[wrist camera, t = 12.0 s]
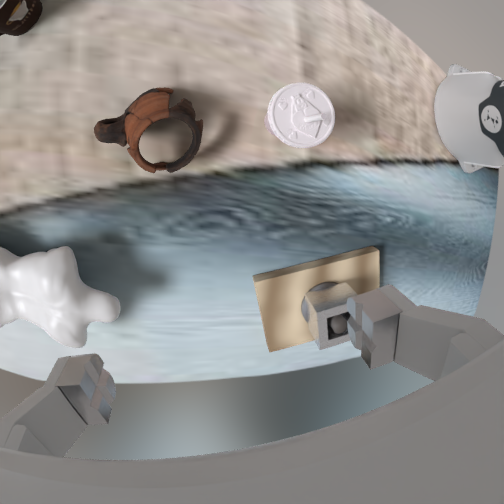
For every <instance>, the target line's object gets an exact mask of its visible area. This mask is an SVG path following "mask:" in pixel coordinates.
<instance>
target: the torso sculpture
mask: <svg viewBox="0 0 504 504" xmlns="http://www.w3.org/2000/svg"><path fill="white" fill-rule="evenodd" d="M120 310H121V307H120V302H119V300H118V298H117V297H115V296H113V295H111V294H109V293H106V292H103V291H100V290H96V289H93V288H91V287H89V286H87V285H86V284H84V283H83V282H82V280H81V279H80V276H79V273H78V266H77V261H76V258H75V255H74V253H73V251H72V249H71V248H70V247H67V246H62V247H59V248H54V249H51V250H49V251H48V252H36V253H31V254H28V255H25V256H23V257H19V256H16V255H14V254H13V253H11V252H10V251H8V250H7V249H5V248H2V247H0V328H1V327H2V326H4V325H5V324H8V323H11V322H13V321H15V320H17V319H24V320H27V321H29V322H31V323H33V324H35V325H37V326H39V327H40V328H42V329H43V330H45V331H46V332H47V333H48V334H49V335H50V336H51V337H52V338H53V339H54V340H55V341H57V342H58V343H60V344H62V345H64V346H67V347H71V348H82V347H83V346H84V345H85V344H86V341H87V327H88V325H89V324H90V323H91V322H105V323H109V322H113V321H115V320H116V319H117V318H118V317H119V314H120Z"/></svg>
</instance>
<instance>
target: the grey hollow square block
mask: <svg viewBox="0 0 504 504" xmlns="http://www.w3.org/2000/svg"><path fill="white" fill-rule="evenodd" d="M304 294H305V302H306V310H307V319H308V328H309V331H310V332H311V334H312V336H313V338H314V340H315V342H316V344H317V345H318V347H319V349H320V350H322V349H325V348H328V347H331V346H335V345H338V344H341V343H344V342H347V341H350V337H349V333H348V327H347V329H346V330H345V331H344V332H342V333H335V332H334V330H333V329H332V327H331V326H330V324H329V323H328V321H327V318H329V317H332V316H335V315H339V314H342V316H343V317H344V318H345V320H346V321H348V319H349V318H350V316H351V314H350V313H349V312H348V310H347V300H348V298H350V297H354V296H357V294H356V292H355V291H354V290H353V289H352V288H351V287H350V286H349V285H348V284H347V283H346V282H344V283H340V284H337V285H333V286H330V287H326V288H322V289H319V290H315V291H311V292H308V293H304Z"/></svg>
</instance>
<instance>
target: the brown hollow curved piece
mask: <svg viewBox="0 0 504 504" xmlns="http://www.w3.org/2000/svg"><path fill="white" fill-rule="evenodd" d="M168 93H170V94H171V93H173V90H172V89H169V88H156V89H150V90H148V91H146V92H145V93H143V94H141V95H140V96H139V97H138V98H137V99H136V100H135V101H134V102H133V103H132V104H131V105H130V106H129V107H128V108H127V109H126V110H125V113H124V114H123V115H121V116H120V117H117V118H112V119H105V120H101V121H99V122H98V123H97V124H96V126H95V128H94V133H95V136H96V138H97V139H98V140H99V141H100V142H104V143H117V144H119V145H121V146H123V147H124V146H126V144H127V143H128V144H129V146H130V147H129V148H128V149H127V150H128V152H129V154H130V155H131V156H132V157H133V159H134V160H135V161H136V163H137V164H138V165H139V166H140V167H141V168H143V169H144V170H146V171H149V172H152V173H155V171H156V170H167V171H168V172H170V173H171V172H175V171H177V170H179V169H181V168H182V167H184V166H186V165H187V164H188V163H189V162H190V161H191V160H192V159H193V158H194V155H196V153H197V151H198V150H199V146H200V143H201V137H202V130H203V120H202V119H201V120H200V121H195V111H194V109H193V108H192V104H191V102H190V101H188V100H187V99H185V98H183V99H182V100H181V102H180V103H178V104H177V105H175V106H173V107H171V108H169V98H170V95H169V94H168ZM165 118H176V119H180V120H182V121H184V122H185V123H187V124H188V125H189V127H190V128H191V130H192V134H193V140H192V144H191V146H190V148H189V150H188V151H187V152H186V153H185V155H184V156H182V157H181V158H180V159H179V160H177V161H175V162H173V163H170V164H166V163H164V162H159V163H154V164H152V163H150V162H148V161H146V160H145V159H144V158H143V157H142V155H141V154H140V151H139V140H140V137H141V135H142V134H143V132H144V131H145V130H146V128H147V127H148V126H150V125H151V124H152V123H154V122H156V121H158V120H161V119H165Z"/></svg>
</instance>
